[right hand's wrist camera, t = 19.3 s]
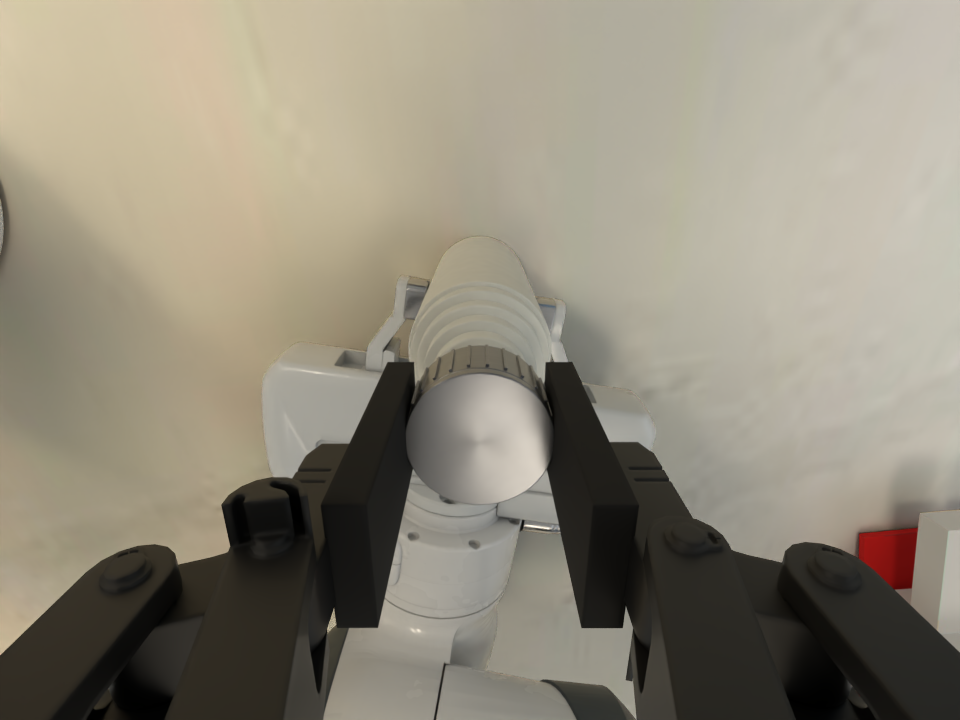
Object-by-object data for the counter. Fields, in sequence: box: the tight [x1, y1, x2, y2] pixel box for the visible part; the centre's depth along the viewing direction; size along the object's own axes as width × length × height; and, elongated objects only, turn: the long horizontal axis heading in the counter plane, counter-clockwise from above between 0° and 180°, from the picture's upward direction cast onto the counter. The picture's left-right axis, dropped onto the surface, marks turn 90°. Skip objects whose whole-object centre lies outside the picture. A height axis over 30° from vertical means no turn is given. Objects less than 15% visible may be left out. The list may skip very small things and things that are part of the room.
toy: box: [859, 510, 960, 652], centre depth 36 cm, size 12×13×30 cm
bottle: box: [408, 236, 552, 383], centre depth 22 cm, size 5×5×19 cm
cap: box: [406, 345, 554, 505], centre depth 14 cm, size 4×4×2 cm
